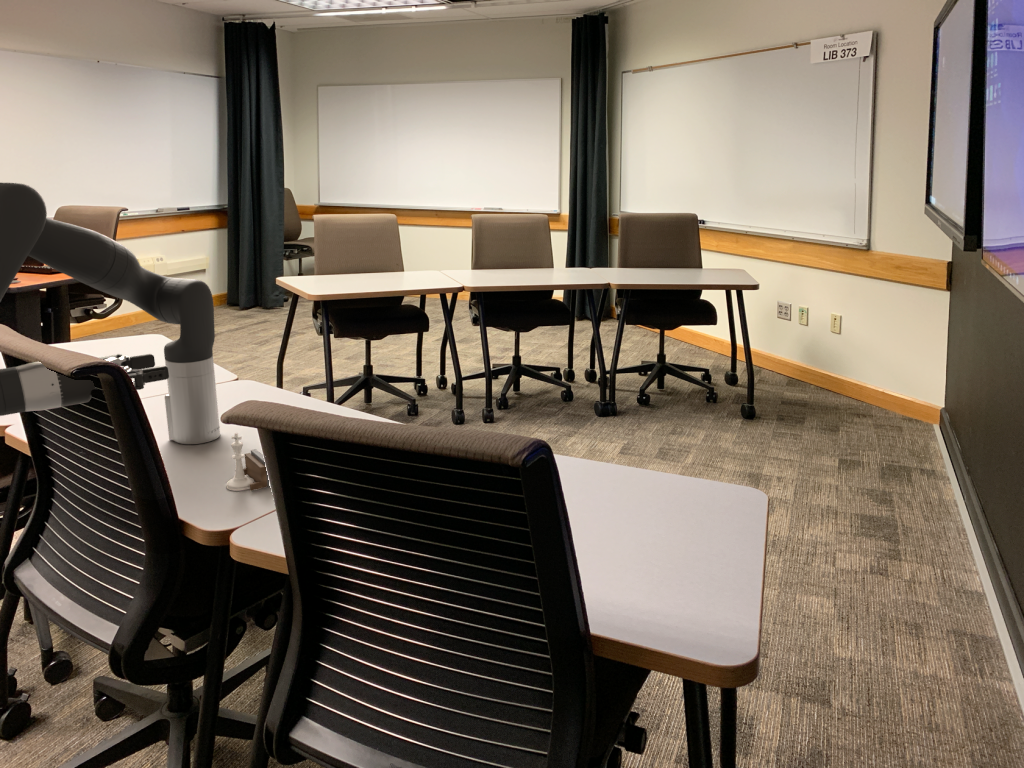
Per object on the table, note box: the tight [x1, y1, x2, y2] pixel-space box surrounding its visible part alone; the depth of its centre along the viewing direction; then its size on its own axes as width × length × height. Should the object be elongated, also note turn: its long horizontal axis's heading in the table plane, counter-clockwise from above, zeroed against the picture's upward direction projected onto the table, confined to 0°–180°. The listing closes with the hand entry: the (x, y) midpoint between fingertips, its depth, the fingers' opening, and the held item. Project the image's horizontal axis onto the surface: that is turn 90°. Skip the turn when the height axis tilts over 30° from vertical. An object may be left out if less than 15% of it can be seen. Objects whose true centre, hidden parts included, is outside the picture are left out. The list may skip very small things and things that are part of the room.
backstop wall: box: [250, 448, 270, 489], centre depth 160 cm, size 1×7×5 cm, turn 36°
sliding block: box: [243, 452, 268, 491], centre depth 159 cm, size 3×8×4 cm, turn 35°
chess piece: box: [225, 432, 255, 492], centre depth 157 cm, size 5×5×10 cm
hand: (160, 365), depth 146 cm, fingers open, 8 cm apart
